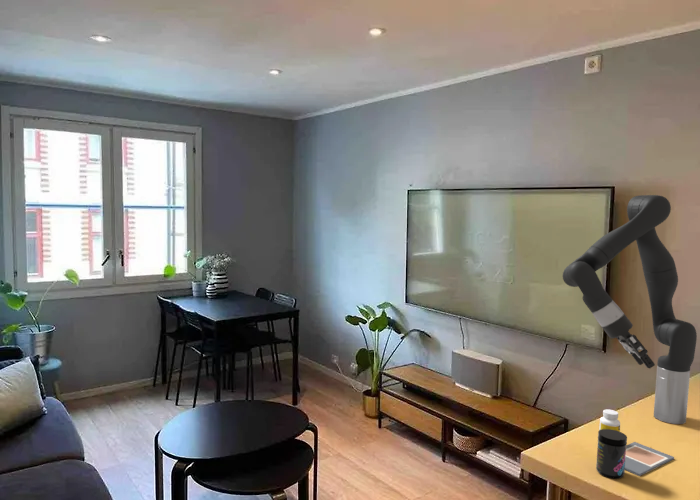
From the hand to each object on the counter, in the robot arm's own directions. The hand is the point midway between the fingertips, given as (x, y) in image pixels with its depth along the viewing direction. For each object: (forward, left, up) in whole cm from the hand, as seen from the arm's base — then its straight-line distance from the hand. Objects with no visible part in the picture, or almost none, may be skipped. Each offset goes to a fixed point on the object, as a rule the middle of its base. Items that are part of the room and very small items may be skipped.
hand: (647, 365), depth 157 cm
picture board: (+14, +6, -23) cm, 27 cm away
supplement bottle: (+12, -3, -23) cm, 26 cm away
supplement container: (+28, +6, -23) cm, 37 cm away
